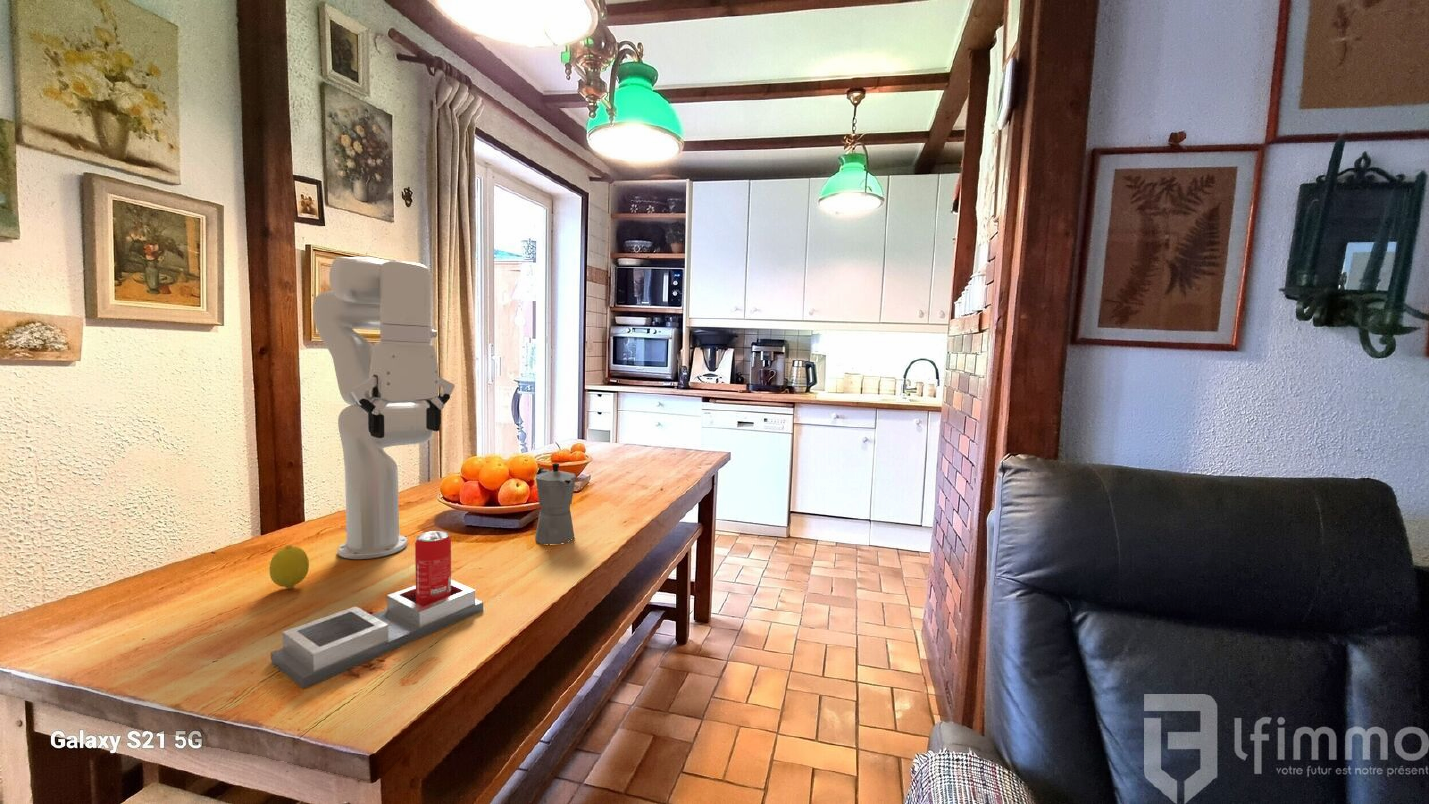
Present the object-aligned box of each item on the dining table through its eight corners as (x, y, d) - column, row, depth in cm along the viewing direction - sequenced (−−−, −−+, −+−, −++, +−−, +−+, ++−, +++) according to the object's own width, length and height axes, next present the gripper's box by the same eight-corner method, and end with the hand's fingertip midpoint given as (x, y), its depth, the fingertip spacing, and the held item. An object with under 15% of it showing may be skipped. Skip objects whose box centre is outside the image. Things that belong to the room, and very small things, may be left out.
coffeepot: (587, 542, 125) (588, 465, 123) (549, 551, 118) (550, 471, 117) (555, 525, 136) (555, 454, 134) (518, 532, 129) (519, 459, 128)
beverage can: (415, 616, 86) (414, 543, 85) (416, 601, 90) (415, 532, 89) (451, 609, 88) (451, 538, 87) (450, 596, 93) (450, 528, 92)
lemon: (316, 586, 98) (315, 543, 97) (281, 598, 93) (279, 553, 92) (298, 579, 100) (296, 537, 99) (263, 591, 95) (261, 547, 94)
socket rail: (271, 662, 75) (270, 635, 74) (448, 594, 97) (448, 572, 96) (303, 689, 70) (302, 659, 69) (483, 610, 92) (483, 587, 91)
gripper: (441, 335, 102) (440, 425, 104) (339, 332, 87) (341, 436, 90) (465, 338, 98) (464, 430, 100) (362, 335, 83) (364, 443, 86)
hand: (406, 433), depth 95 cm, fingers open, 9 cm apart
